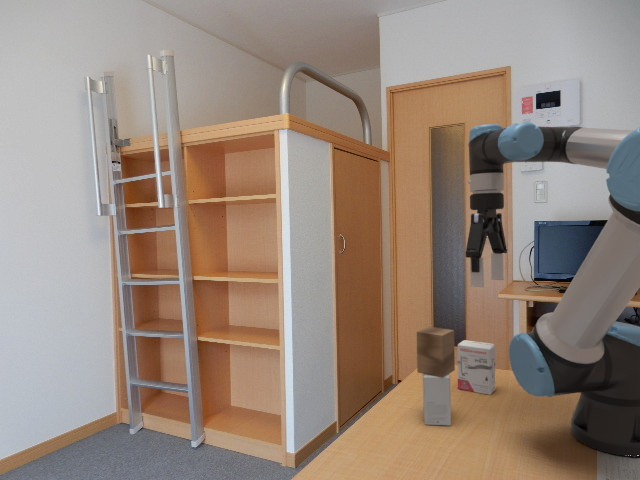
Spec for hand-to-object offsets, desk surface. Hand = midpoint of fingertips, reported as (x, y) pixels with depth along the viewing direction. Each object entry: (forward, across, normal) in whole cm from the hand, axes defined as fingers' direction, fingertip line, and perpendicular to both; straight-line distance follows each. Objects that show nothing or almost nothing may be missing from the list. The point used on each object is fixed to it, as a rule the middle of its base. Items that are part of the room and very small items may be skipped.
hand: (487, 283), depth 111 cm
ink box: (+29, -7, -6) cm, 30 cm away
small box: (+29, +15, -6) cm, 33 cm away
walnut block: (+18, +15, -6) cm, 24 cm away
